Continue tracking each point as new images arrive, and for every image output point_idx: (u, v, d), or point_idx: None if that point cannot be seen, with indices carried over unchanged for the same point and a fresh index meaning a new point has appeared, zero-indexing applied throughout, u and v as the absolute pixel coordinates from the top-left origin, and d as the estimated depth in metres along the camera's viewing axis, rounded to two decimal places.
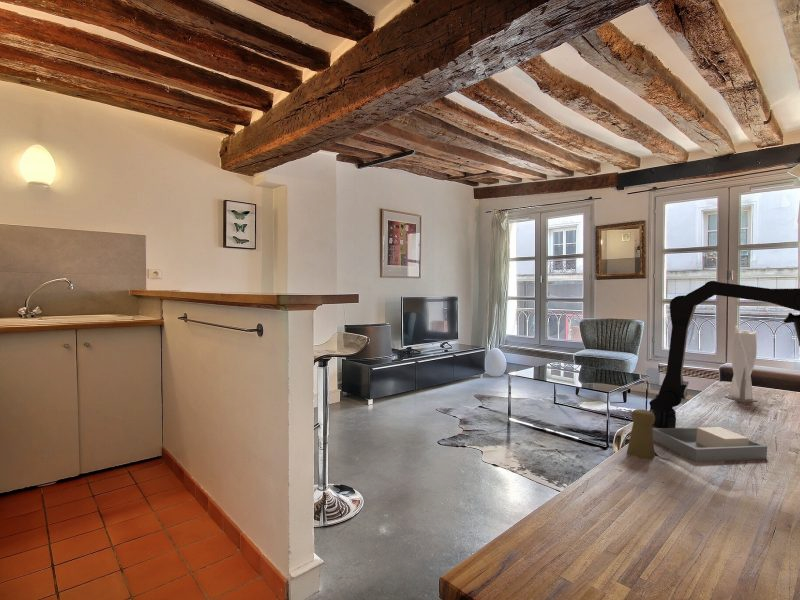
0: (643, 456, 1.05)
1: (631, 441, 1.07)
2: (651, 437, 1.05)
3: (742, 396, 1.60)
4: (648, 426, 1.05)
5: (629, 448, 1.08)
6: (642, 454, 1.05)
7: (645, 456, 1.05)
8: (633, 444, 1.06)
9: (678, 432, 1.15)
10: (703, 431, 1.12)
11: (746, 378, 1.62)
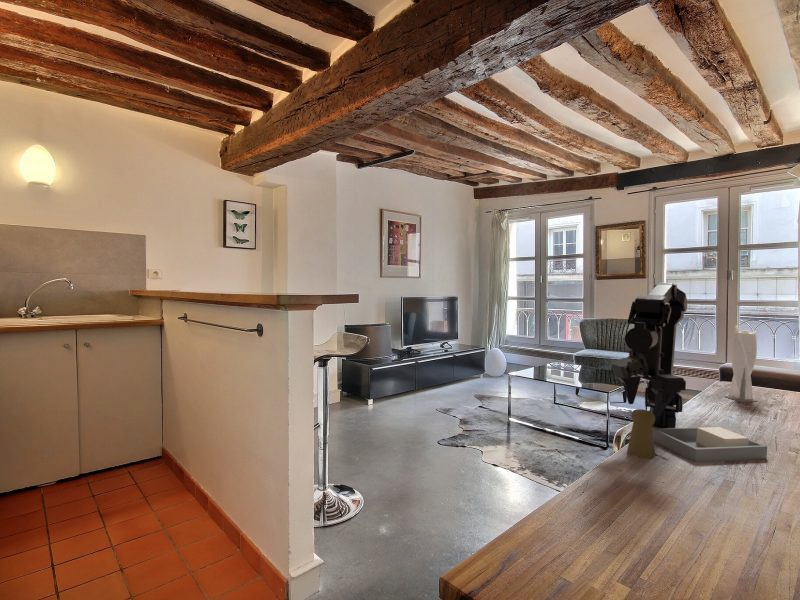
0: (643, 456, 1.05)
1: (631, 441, 1.07)
2: (651, 437, 1.05)
3: (742, 396, 1.60)
4: (648, 426, 1.05)
5: (629, 448, 1.08)
6: (642, 454, 1.05)
7: (645, 456, 1.05)
8: (633, 444, 1.06)
9: (678, 432, 1.15)
10: (703, 431, 1.12)
11: (746, 378, 1.62)
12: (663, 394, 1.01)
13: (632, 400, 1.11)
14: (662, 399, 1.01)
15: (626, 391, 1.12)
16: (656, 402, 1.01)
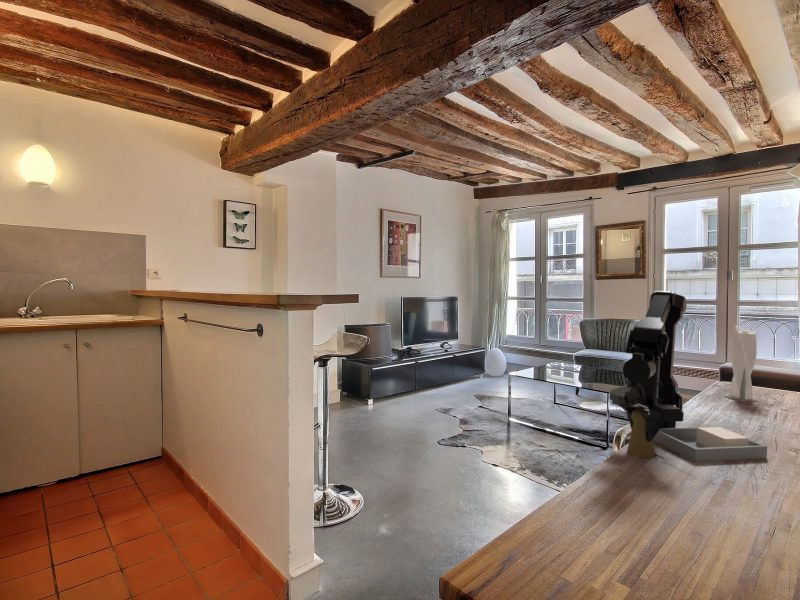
0: (643, 456, 1.05)
1: (631, 441, 1.07)
2: None
3: (742, 396, 1.60)
4: None
5: (629, 448, 1.08)
6: (642, 454, 1.05)
7: (645, 456, 1.05)
8: (633, 444, 1.06)
9: (678, 432, 1.15)
10: (703, 431, 1.12)
11: (746, 378, 1.62)
12: (654, 421, 1.04)
13: None
14: (653, 426, 1.04)
15: (630, 421, 1.10)
16: (647, 429, 1.04)
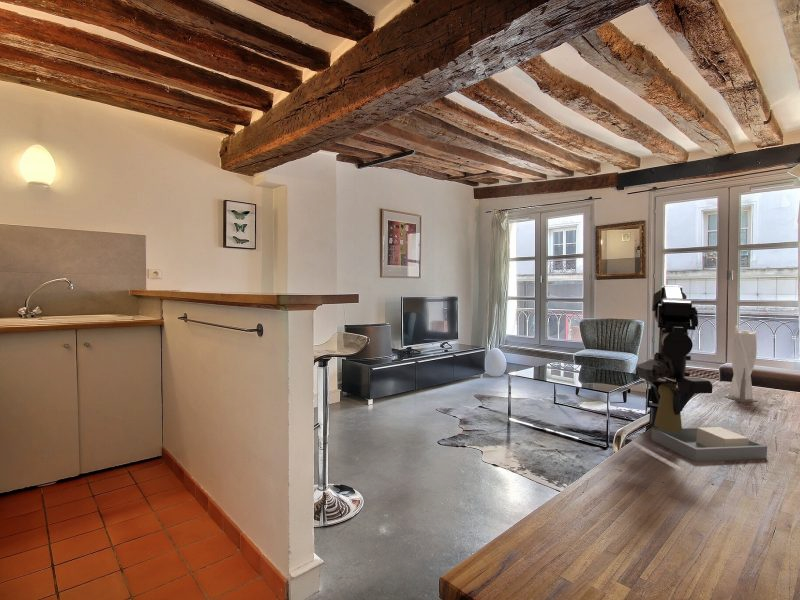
0: (670, 429, 1.05)
1: (658, 415, 1.08)
2: None
3: (742, 396, 1.60)
4: None
5: (656, 422, 1.08)
6: (669, 427, 1.05)
7: (673, 429, 1.05)
8: (660, 417, 1.07)
9: (678, 432, 1.15)
10: (703, 431, 1.12)
11: (746, 378, 1.62)
12: (682, 394, 1.04)
13: None
14: (681, 399, 1.04)
15: (657, 395, 1.10)
16: (675, 402, 1.05)
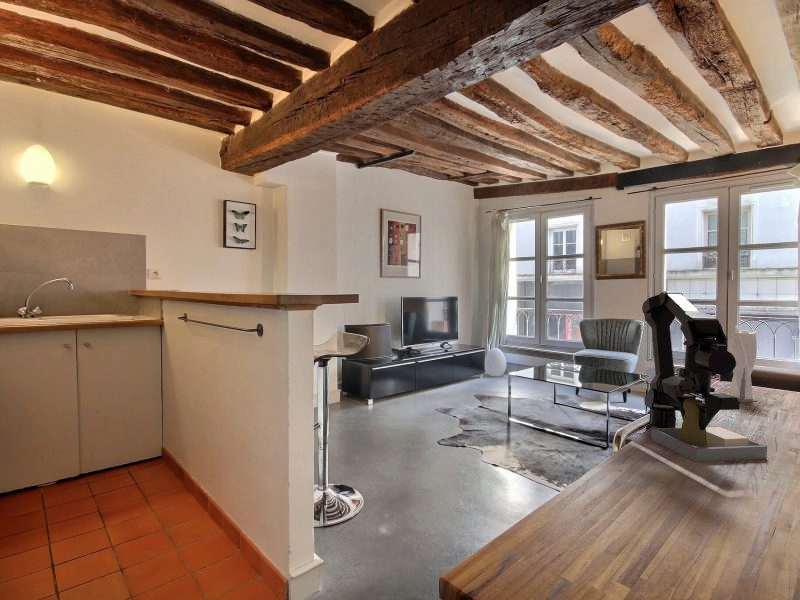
0: (696, 444, 1.06)
1: (683, 430, 1.09)
2: None
3: (742, 396, 1.60)
4: None
5: (681, 437, 1.09)
6: (695, 442, 1.06)
7: (698, 444, 1.06)
8: (686, 432, 1.08)
9: (678, 432, 1.15)
10: None
11: (746, 378, 1.62)
12: (707, 410, 1.05)
13: None
14: (706, 414, 1.05)
15: (681, 410, 1.11)
16: (700, 417, 1.05)
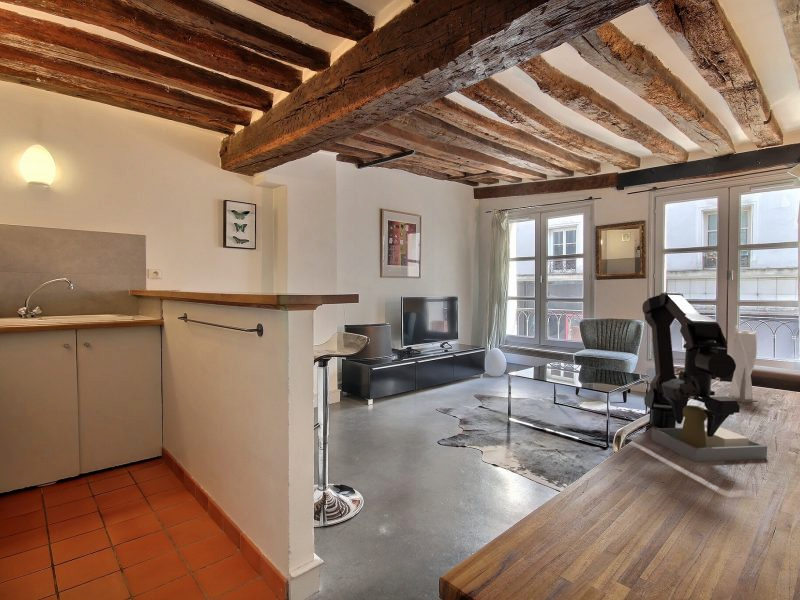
0: None
1: (683, 437, 1.09)
2: (704, 433, 1.07)
3: (742, 396, 1.60)
4: (700, 421, 1.07)
5: None
6: None
7: None
8: (685, 439, 1.08)
9: (678, 432, 1.15)
10: None
11: (746, 378, 1.62)
12: (716, 416, 1.03)
13: (680, 420, 1.13)
14: (715, 421, 1.03)
15: (674, 411, 1.13)
16: (708, 424, 1.03)
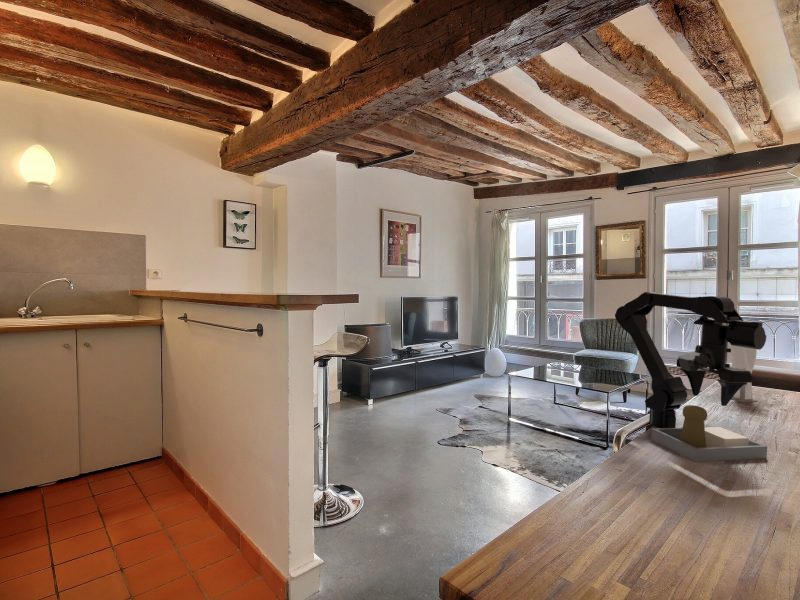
0: None
1: (683, 437, 1.09)
2: (703, 432, 1.07)
3: (742, 396, 1.60)
4: (700, 421, 1.07)
5: None
6: None
7: None
8: (685, 439, 1.08)
9: (678, 432, 1.15)
10: None
11: None
12: (729, 386, 1.09)
13: (697, 392, 1.19)
14: (728, 391, 1.09)
15: (691, 383, 1.20)
16: (722, 393, 1.10)
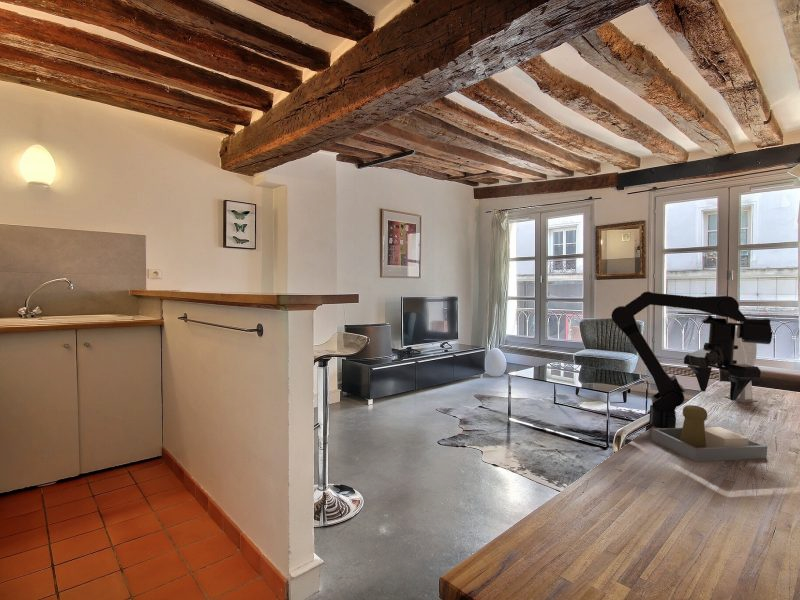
0: None
1: (683, 437, 1.09)
2: (704, 432, 1.07)
3: (742, 396, 1.60)
4: (700, 421, 1.07)
5: None
6: None
7: None
8: (685, 439, 1.08)
9: (678, 432, 1.15)
10: None
11: None
12: (738, 381, 1.14)
13: (704, 388, 1.24)
14: (737, 386, 1.14)
15: (699, 380, 1.25)
16: (732, 388, 1.14)
